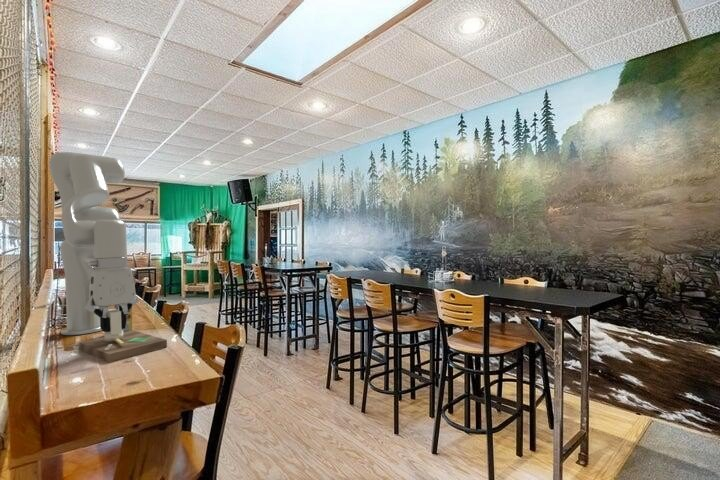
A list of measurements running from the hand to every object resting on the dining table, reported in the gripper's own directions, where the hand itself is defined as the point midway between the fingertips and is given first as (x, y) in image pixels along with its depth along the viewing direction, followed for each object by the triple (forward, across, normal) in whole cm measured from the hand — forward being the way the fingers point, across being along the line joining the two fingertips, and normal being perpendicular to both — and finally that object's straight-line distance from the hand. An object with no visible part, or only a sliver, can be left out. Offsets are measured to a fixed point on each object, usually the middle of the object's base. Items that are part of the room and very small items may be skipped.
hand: (113, 329), depth 101 cm
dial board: (+5, +1, -3) cm, 6 cm away
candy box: (+5, +9, +13) cm, 17 cm away
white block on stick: (+3, -1, -3) cm, 4 cm away
